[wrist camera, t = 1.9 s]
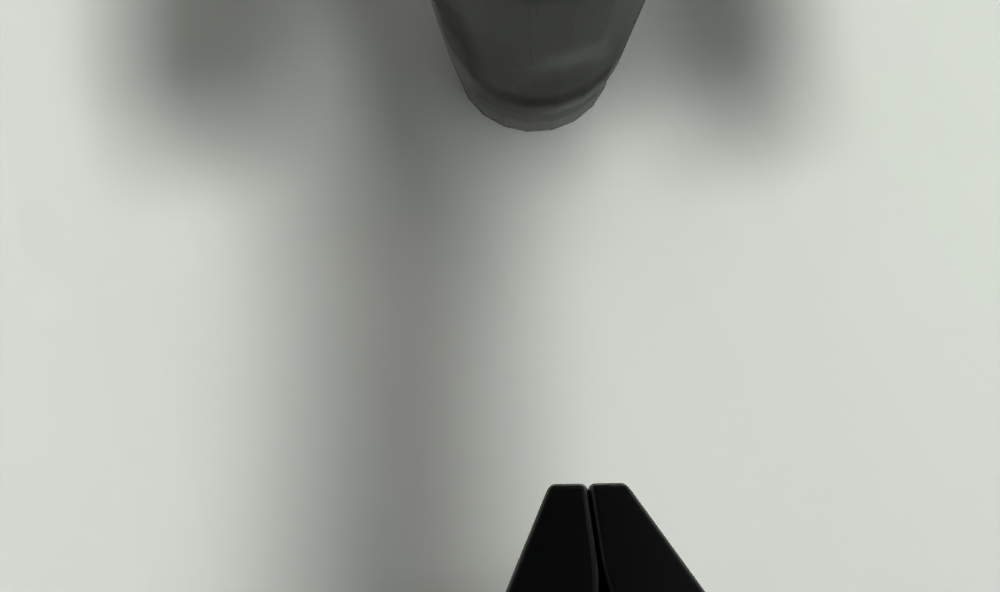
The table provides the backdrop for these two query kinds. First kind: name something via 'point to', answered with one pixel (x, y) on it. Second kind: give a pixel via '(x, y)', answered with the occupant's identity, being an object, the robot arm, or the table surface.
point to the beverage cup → (535, 55)
